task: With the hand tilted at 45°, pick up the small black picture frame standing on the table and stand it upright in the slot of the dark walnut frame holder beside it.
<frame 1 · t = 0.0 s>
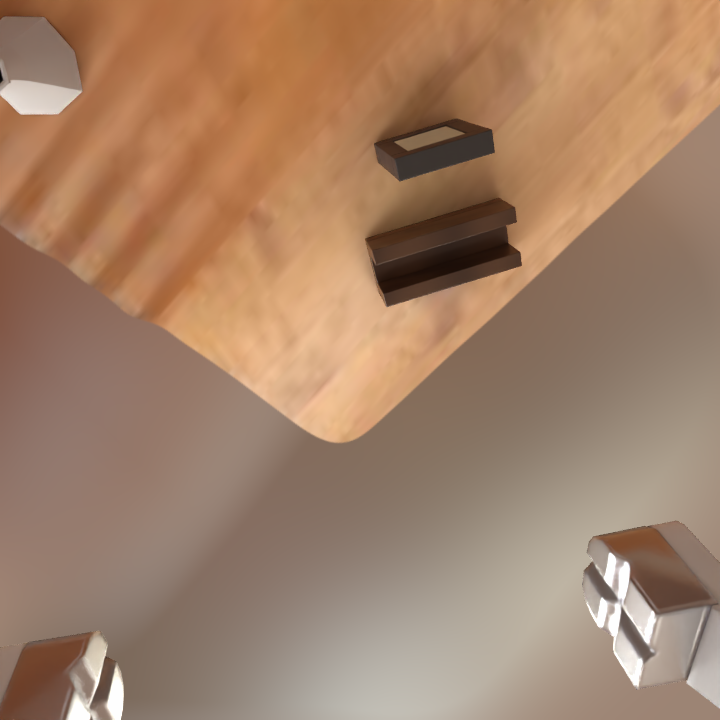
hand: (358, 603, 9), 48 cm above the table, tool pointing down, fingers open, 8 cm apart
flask: (34, 67, 45), on the table
frame: (417, 140, 52), on the table
holder: (437, 246, 58), on the table
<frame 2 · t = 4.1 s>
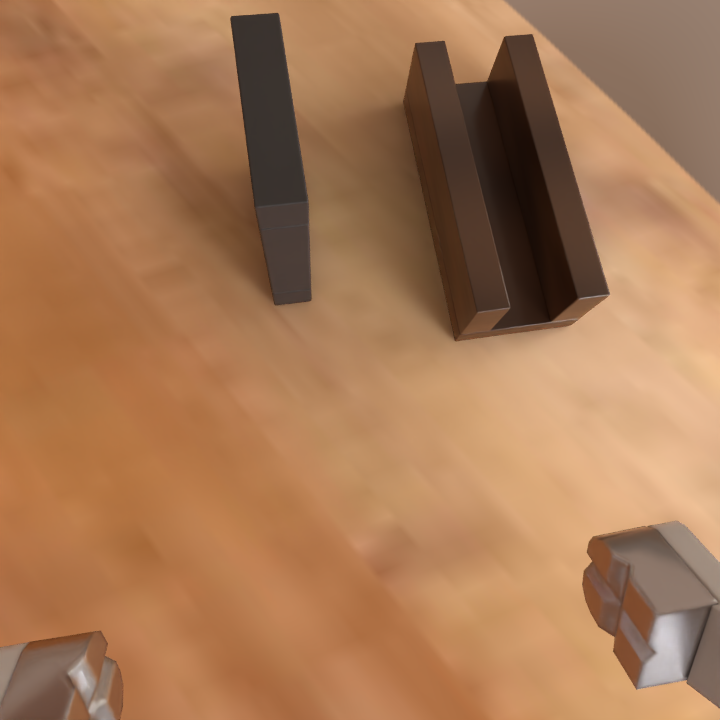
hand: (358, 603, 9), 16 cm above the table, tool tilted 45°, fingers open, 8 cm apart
frame: (282, 230, 29), on the table
holder: (482, 207, 30), on the table
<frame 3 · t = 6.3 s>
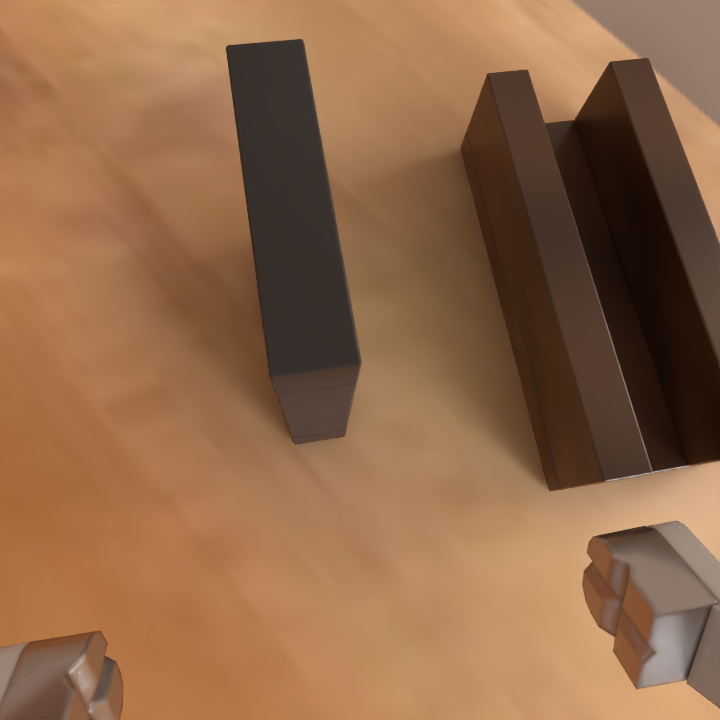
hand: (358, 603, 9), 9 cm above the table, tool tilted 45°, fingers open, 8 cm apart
frame: (303, 332, 21), on the table
holder: (575, 293, 22), on the table
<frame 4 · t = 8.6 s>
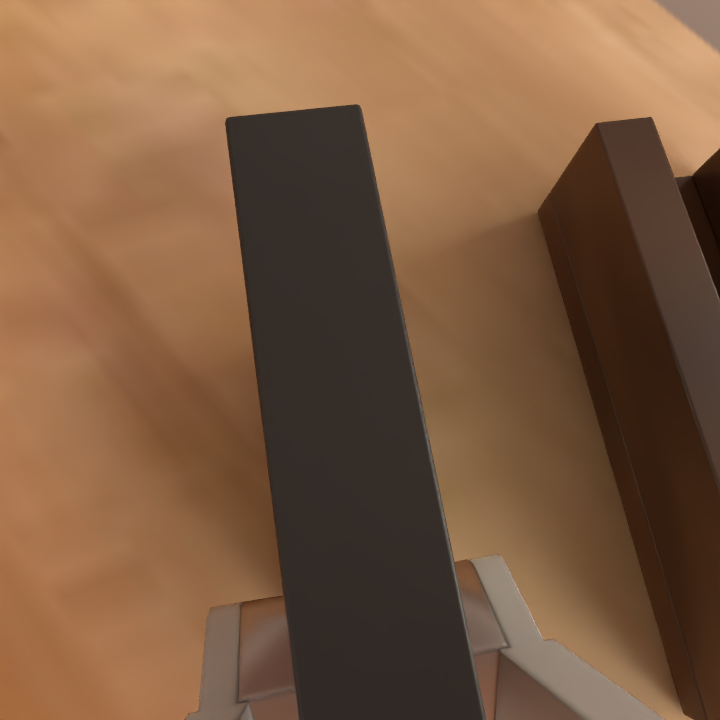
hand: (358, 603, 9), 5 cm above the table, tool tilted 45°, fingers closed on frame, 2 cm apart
frame: (333, 476, 15), on the table, touching gripper
holder: (701, 415, 16), on the table
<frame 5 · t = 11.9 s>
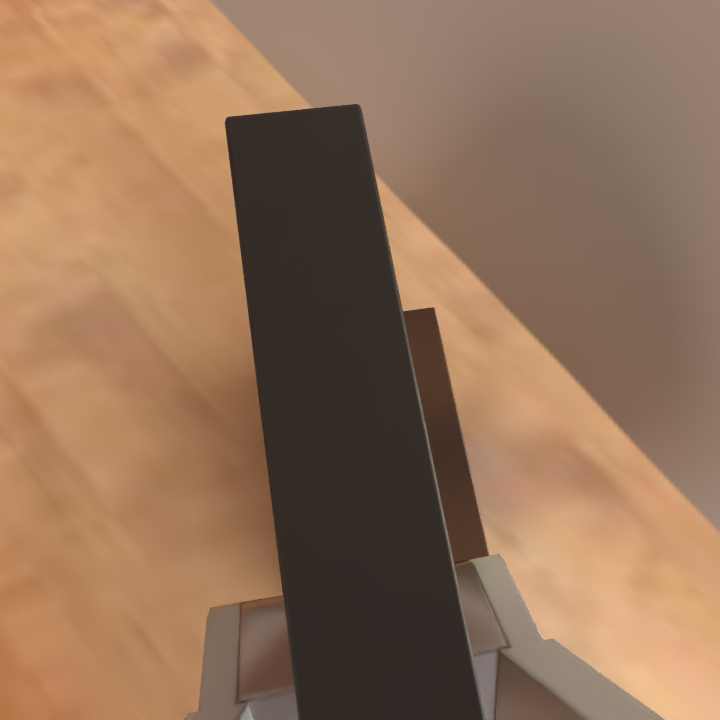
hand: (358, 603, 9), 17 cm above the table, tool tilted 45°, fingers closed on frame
frame: (332, 476, 15), point 12 cm above the table, touching gripper
holder: (386, 486, 26), on the table
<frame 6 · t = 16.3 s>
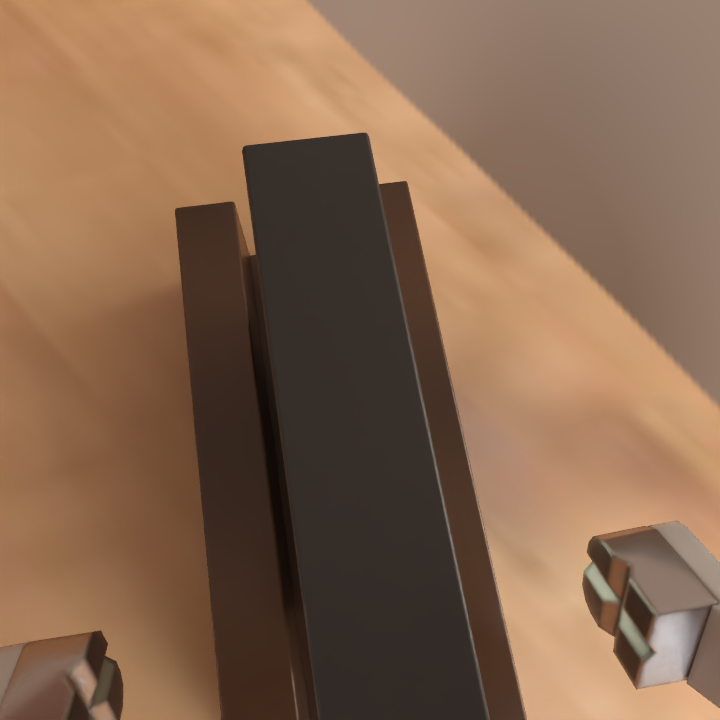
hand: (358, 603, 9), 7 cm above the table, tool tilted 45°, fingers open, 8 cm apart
frame: (339, 478, 15), point 1 cm above the table, touching holder
holder: (334, 480, 16), on the table
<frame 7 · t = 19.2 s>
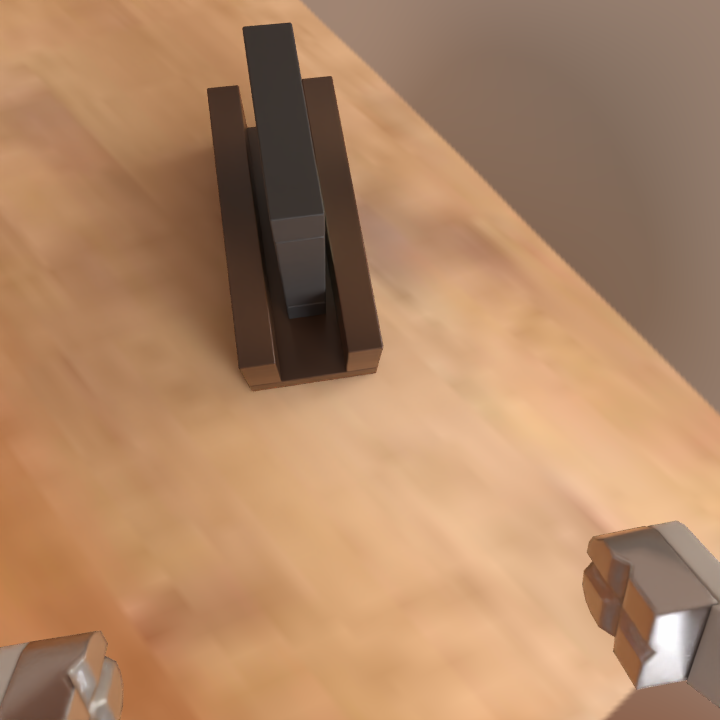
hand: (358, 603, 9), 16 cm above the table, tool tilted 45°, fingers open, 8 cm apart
frame: (295, 242, 28), point 1 cm above the table, touching holder
holder: (294, 251, 29), on the table
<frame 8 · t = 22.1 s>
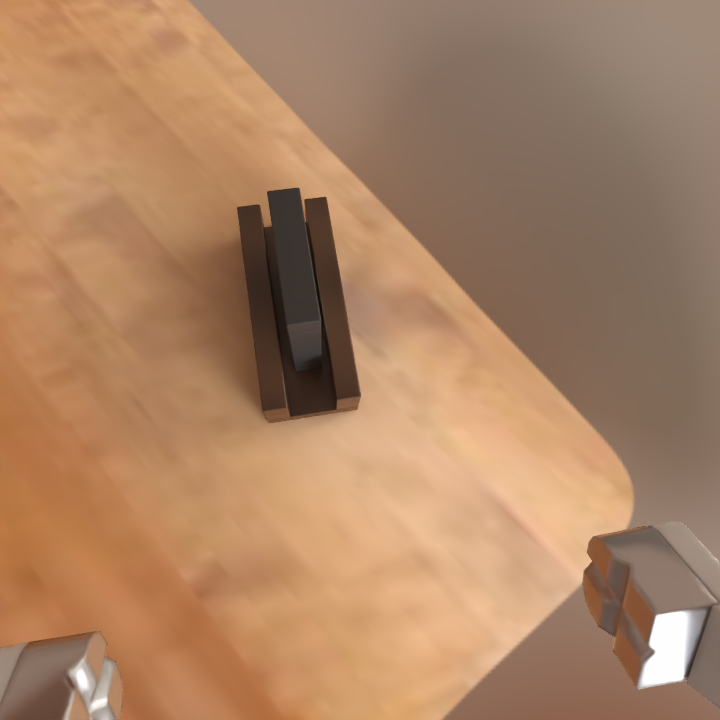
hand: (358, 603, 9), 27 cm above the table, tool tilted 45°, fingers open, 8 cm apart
frame: (300, 314, 39), point 1 cm above the table, touching holder
holder: (299, 319, 40), on the table
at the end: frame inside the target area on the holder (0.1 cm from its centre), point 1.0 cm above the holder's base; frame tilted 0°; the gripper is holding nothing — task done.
